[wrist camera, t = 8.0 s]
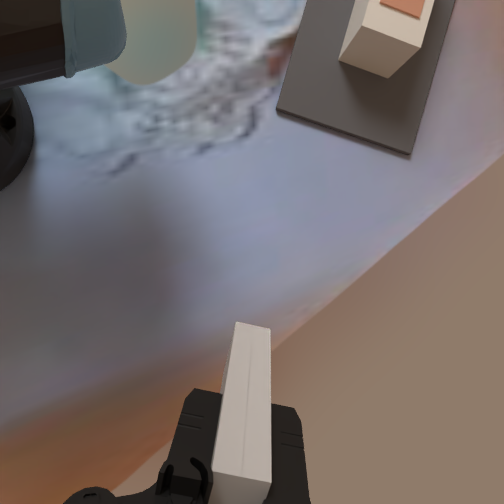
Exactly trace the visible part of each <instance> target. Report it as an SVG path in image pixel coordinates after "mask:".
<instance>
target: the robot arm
mask: <svg viewBox="0 0 504 504" xmlns="http://www.w3.org/2000/svg"><path fill="white" fill-rule="evenodd" d="M125 44H126V27H125V22H124V16H123V12H122V7H121V3H120V0H0V191H1V190H2V189H4V188H5V187H6V186H8V185H9V184H10V183H11V182H12V181H13V180H14V179H15V178H16V177H17V176H18V174H19V173H20V172H21V170H22V168H23V167H24V165H25V163H26V161H27V159H28V157H29V154H30V151H31V147H32V141H33V121H32V116H31V111H30V108H29V105H28V103H27V100H26V98H25V96H24V94H23V93H22V91H21V89H20V88H19V86H21V85H26V84H30V83H34V82H39V81H43V80H47V79H52V78H56V77H60V76H64V77H66V78H71V77H73V76H74V75H75V73H76V72H79V71H82V70H86V69H89V68H93V67H96V66H100V65H103V64H107V63H110V62H112V61H114V60H115V59H117V58H118V57H119V56H120V54H121V53H122V51H123V49H124V48H125ZM302 437H303V434H302V425H301V420H300V418H299V417H298V415H297V413H296V411H295V409H294V408H291V407H286V406H281V405H277V404H272V403H271V342H270V329H268V328H264V327H259V326H255V325H250V324H245V323H241V322H236V323H235V328H234V332H233V336H232V340H231V344H230V348H229V352H228V356H227V361H226V365H225V369H224V374H223V379H222V385H221V390H220V393H215V392H210V391H205V390H200V389H196V388H194V390H193V391H192V392H191V393H190V394H189V395H188V396H187V397H186V398H185V401H184V405H183V408H182V411H181V415H180V418H179V421H178V425H177V428H176V431H175V435H174V438H173V442H172V445H171V449H170V452H169V455H168V458H167V460H166V461H165V462H164V463H163V465H162V467H161V469H160V471H159V474H158V480H157V482H156V483H155V484H154V485H152V486H151V487H150V488H148V489H146V490H145V491H143V492H140V493H136V494H133V495H126V496H121V497H115V496H114V495H113V494H112V493H111V492H110V491H109V490H107V489H105V488H101V487H90V488H84V489H82V490H80V491H78V492H76V493H74V494H73V495H72V496H70V497H69V498H68V499H67V500H66V501H65V502H64V503H63V504H311V502H310V498H309V490H308V481H307V472H306V463H305V453H304V443H303V439H302Z"/></svg>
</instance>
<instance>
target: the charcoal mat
mask: <svg viewBox="0 0 504 504" xmlns="http://www.w3.org/2000/svg"><path fill="white" fill-rule="evenodd" d="M454 2H455V0H434V4H433V7H432V10H431V14H430V17H429V21H428V24H427V28H426V31H425V35H424V38H423V42H422V45H421V48H420V49H419V50H418V51H417V52H416V53H415V54H414V55H413V56H412V57H411V58H409V59H408V60H407V61H406V62H405V63H404V64H403V65H402V66H401V67H400V68H399V69H398V70H397V71H396V72H395V73H394V74H392V75H391V76H390V77H389V78H385V77H382V76H380V75H377V74H374V73H371V72H369V71H366V70H363V69H361V68H358V67H355V66H352V65H350V64H347V63H344V62H342V61H339V60H338V59H339V55H340V52H341V48H342V45H343V41H344V38H345V35H346V31H347V28H348V24H349V21H350V17H351V14H352V10H353V7H354V3H355V0H307V3H306V6H305V10H304V13H303V17H302V20H301V24H300V27H299V30H298V34H297V37H296V41H295V44H294V48H293V51H292V55H291V58H290V62H289V65H288V69H287V72H286V75H285V79H284V82H283V86H282V89H281V93H280V96H279V100H278V103H277V107H276V110H278V111H281V112H284V113H287V114H290V115H293V116H296V117H299V118H302V119H304V120H307V121H310V122H313V123H316V124H319V125H322V126H325V127H328V128H331V129H334V130H337V131H339V132H342V133H345V134H348V135H351V136H354V137H357V138H360V139H363V140H366V141H369V142H372V143H374V144H377V145H380V146H383V147H386V148H389V149H392V150H395V151H398V152H401V153H404V154H407V155H409V154H411V152H412V148H413V145H414V141H415V138H416V134H417V131H418V127H419V124H420V120H421V117H422V113H423V110H424V106H425V103H426V99H427V96H428V92H429V89H430V85H431V82H432V78H433V75H434V72H435V68H436V65H437V61H438V58H439V54H440V51H441V47H442V44H443V40H444V37H445V33H446V30H447V26H448V23H449V19H450V16H451V12H452V9H453V5H454Z"/></svg>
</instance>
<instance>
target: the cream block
mask: <svg viewBox="0 0 504 504" xmlns="http://www.w3.org/2000/svg"><path fill="white" fill-rule="evenodd" d="M433 4H434V0H355V3H354V7H353V10H352V14H351V17H350V21H349V24H348V28H347V31H346V35H345V38H344V41H343V45H342V48H341V52H340V55H339V59H338V60H339V61H342V62H344V63H347V64H350V65H352V66H355V67H358V68H361V69H363V70H366V71H369V72H371V73H374V74H377V75H380V76H382V77H385V78H389V77H390V76H391V75H392V74H394V73H395V72H396V71H397V70H398V69H399V68H400V67H401V66H402V65H403V64H404V63H405V62H406V61H407V60H408V59H409V58H411V57H412V56H413V55H414V54H415V53H416V52H417V51H418V50H419V49H420V48H421V45H422V42H423V38H424V35H425V31H426V28H427V24H428V21H429V17H430V14H431V10H432V7H433Z"/></svg>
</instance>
